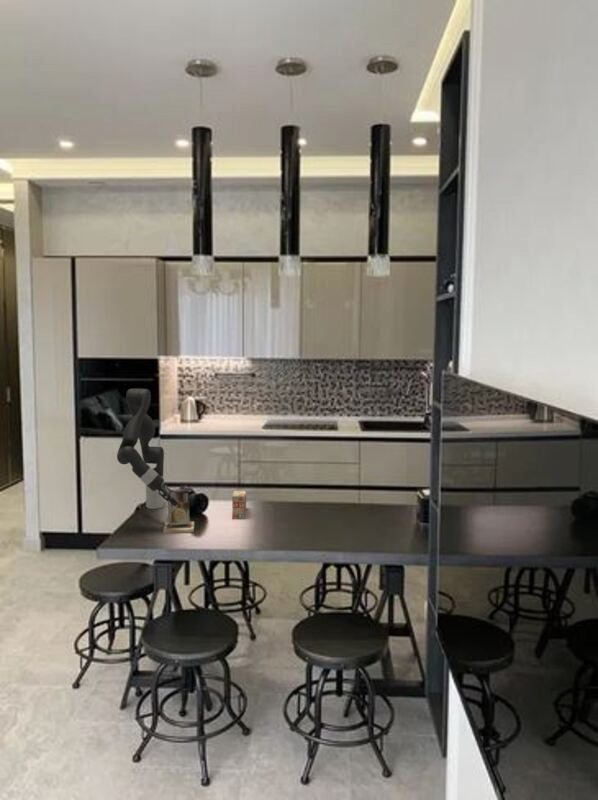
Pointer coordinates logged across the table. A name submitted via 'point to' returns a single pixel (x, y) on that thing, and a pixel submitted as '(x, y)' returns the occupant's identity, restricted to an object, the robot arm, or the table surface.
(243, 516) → the printed cardboard box
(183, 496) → the coffee box
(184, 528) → the birch plate
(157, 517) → the table surface
